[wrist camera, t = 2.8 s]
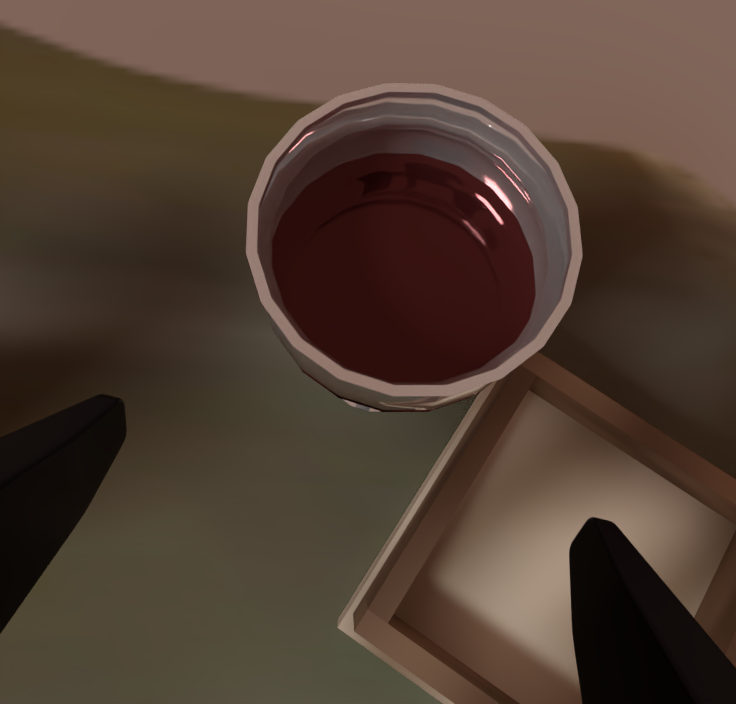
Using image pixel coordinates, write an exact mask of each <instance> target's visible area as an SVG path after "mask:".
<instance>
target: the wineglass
mask: <svg viewBox="0 0 736 704" xmlns="http://www.w3.org/2000/svg"><path fill="white" fill-rule="evenodd" d="M246 255H247V258H248V261H249V264H250V268H251V271H252V274H253V277H254V281H255V284H256V287H257V290H258V294H259V297H260V300H261V303H262V304H263V306H264V307H265V308H266V310H267V313H268V316H269V320H270V323H271V326H272V329H273V331H274V333H275V334H276V335H277V337H278V338H279V340H280V341H281V343H282V344H283V345H284V347H285V348H286V349H287V351H288V352H289V354H290V355H291V356H292V358H293V359H294V361H295V362H296V363H297V365H298V366H299V367H300V369H301V370H302V372H304V373H305V374H307V375H308V376H309V377H311V378H312V379H313V380H315V381H316V382H318V383H319V384H320V385H322V386H323V387H325V388H326V389H327V390H329V391H330V392H332V393H333V394H334V395H336V396H337V397H338V398H341V399H342V400H344V401H345V402H347V403H348V404H349V405H351V406H353V407H357V408H360V409H363V410H366V411H381V412H428V411H431V410H434V409H437V408H440V407H443V406H446V405H449V404H452V403H455V402H458V401H461V400H464V399H467V398H470V397H471V396H474V395H477V394H478V393H479V392H481V391H482V390H483V389H485V388H486V387H487V386H488V385H490V384H491V383H492V382H494V381H496V380H499V379H502V378H503V377H504V376H506V375H507V374H508V373H510V372H511V371H512V370H514V369H515V368H516V367H517V366H519V365H520V364H521V363H523V362H524V361H525V360H527V359H528V358H529V357H531V356H532V355H533V354H534V353H536V352H537V351H538V350H540V349H541V348H542V347H544V345H545V344H546V342H547V340H548V339H549V337H550V336H551V334H552V333H553V331H554V330H555V328H556V327H557V325H558V324H559V322H560V320H561V319H562V317H563V316H564V314H565V313H566V311H567V310H568V308H569V307H570V305H571V303H572V299H573V294H574V290H575V286H576V282H577V278H578V273H579V269H580V265H581V261H582V257H583V254H582V244H581V234H580V224H579V215H578V207H577V204H576V202H575V200H574V198H573V195H572V193H571V191H570V189H569V186H568V184H567V182H566V180H565V177H564V175H563V173H562V171H561V168H560V166H559V164H558V162H557V161H556V160H555V159H554V158H553V156H552V155H551V154H550V153H549V152H548V151H547V150H546V148H545V147H544V146H543V145H542V144H541V143H540V141H539V140H538V139H537V138H536V137H535V136H534V135H533V133H532V132H531V131H530V130H529V129H528V128H527V127H526V126H525V125H524V124H522V123H521V122H519V121H518V120H516V119H515V118H513V117H511V116H510V115H508V114H507V113H505V112H504V111H502V110H500V109H499V108H497V107H496V106H494V105H493V104H491V103H490V102H488V101H487V100H485V99H483V98H480V97H477V96H473V95H470V94H467V93H463V92H460V91H457V90H454V89H450V88H447V87H444V86H440V85H437V84H409V83H408V84H406V83H405V84H404V83H385V84H381V85H378V86H373V87H369V88H366V89H362V90H358V91H354V92H350V93H346V94H343V95H339V96H337V97H336V98H334V99H333V100H331V101H329V102H328V103H326V104H324V105H323V106H321V107H319V108H318V109H316V110H315V111H313V112H311V113H310V114H308V115H306V116H305V117H303V118H301V119H300V120H298V121H297V122H296V123H295V125H294V126H293V127H292V128H291V129H290V130H289V132H288V133H287V134H286V135H285V136H284V137H283V139H282V140H281V141H280V142H279V143H278V144H277V146H276V147H275V148H274V149H273V150H272V151H271V152H270V154H269V155H268V156H267V157H266V159H265V162H264V164H263V167H262V169H261V172H260V174H259V177H258V179H257V182H256V184H255V187H254V189H253V192H252V194H251V197H250V199H249V202H248V216H247V240H246Z"/></svg>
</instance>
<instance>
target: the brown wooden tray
mask: <svg viewBox="0 0 736 704" xmlns="http://www.w3.org/2000/svg"><path fill="white" fill-rule="evenodd" d="M591 517H596V518H600V519H604V520H608V521H611V522H613V523H615V524H616V525H617V526H618V528H619V529H620V530H621V531H622V532H623V534H624V535H625V536H626V537H627V538H628V540H629V541H630V542H631V543H632V544H633V546H634V547H635V548H636V549H637V550H638V551H639V553H640V554H641V555H642V556H643V557H644V559H645V560H646V561H647V562H648V563H649V565H650V566H651V567H652V568H653V569H654V571H655V572H656V573H657V574H658V575H659V577H660V578H661V579H662V580H663V581H664V583H665V584H666V585H667V586H668V587H669V589H670V590H671V591H672V592H673V593H674V594H675V596H676V597H677V598H678V599H679V600H680V602H681V603H682V604H683V605H684V606H685V608H686V609H687V610H688V611H689V612H690V614H691V615H692V616H693V617H694V618H695V620H696V621H697V622H698V623H699V624H700V626H701V627H702V628H703V629H704V630H705V631H706V633H707V634H708V635H709V636H710V637H711V639H712V640H713V641H714V642H715V643H716V645H717V646H718V647H719V648H720V649H721V651H722V652H723V653H724V654H725V655H726V657H727V658H728V659H729V660H730V661H731V663H732V664H733V665H734V666H735V667H736V479H734V478H733V477H731V476H730V475H728V474H727V473H725V472H724V471H722V470H720V469H719V468H717V467H716V466H714V465H713V464H711V463H710V462H708V461H707V460H705V459H703V458H702V457H700V456H699V455H697V454H696V453H694V452H693V451H691V450H690V449H688V448H686V447H685V446H683V445H682V444H680V443H679V442H677V441H676V440H674V439H673V438H671V437H669V436H668V435H666V434H665V433H663V432H662V431H660V430H659V429H657V428H655V427H654V426H652V425H651V424H649V423H648V422H646V421H645V420H643V419H642V418H640V417H638V416H637V415H635V414H634V413H632V412H631V411H629V410H628V409H626V408H625V407H623V406H621V405H620V404H618V403H617V402H615V401H614V400H612V399H611V398H609V397H608V396H606V395H604V394H603V393H601V392H600V391H598V390H597V389H595V388H594V387H592V386H590V385H589V384H587V383H586V382H584V381H583V380H581V379H580V378H578V377H577V376H575V375H573V374H572V373H570V372H569V371H567V370H566V369H564V368H563V367H561V366H560V365H558V364H556V363H555V362H553V361H552V360H550V359H549V358H547V357H546V356H544V355H543V354H541V353H539V352H538V351H537V352H536V353H534V354H533V355H532V356H531V357H529V358H528V359H527V360H525V361H524V362H523V363H521V364H520V365H519V366H517V367H516V368H515V369H514V370H512V371H511V372H510V373H508V374H507V375H506V376H504V377H503V378H502V379H499V380H496V381H494V382H492V383H491V384H490V385H488V386H487V387H486V388H485V389H483V390H482V391H481V392H479V394H478V396H477V397H476V399H475V401H474V402H473V404H472V405H471V407H470V409H469V410H468V412H467V413H466V415H465V417H464V418H463V420H462V421H461V423H460V425H459V426H458V428H457V429H456V431H455V433H454V434H453V436H452V437H451V439H450V441H449V442H448V444H447V445H446V447H445V449H444V450H443V452H442V453H441V455H440V457H439V458H438V460H437V461H436V463H435V465H434V466H433V468H432V469H431V471H430V473H429V474H428V476H427V477H426V479H425V481H424V482H423V484H422V485H421V487H420V489H419V490H418V492H417V493H416V495H415V497H414V498H413V500H412V501H411V503H410V505H409V506H408V508H407V509H406V511H405V513H404V514H403V516H402V517H401V519H400V521H399V522H398V524H397V525H396V527H395V529H394V530H393V532H392V533H391V535H390V537H389V538H388V540H387V541H386V543H385V545H384V546H383V548H382V549H381V551H380V553H379V554H378V556H377V557H376V559H375V561H374V562H373V564H372V565H371V567H370V569H369V570H368V572H367V573H366V575H365V577H364V578H363V580H362V581H361V583H360V585H359V586H358V588H357V589H356V591H355V593H354V594H353V596H352V597H351V599H350V601H349V602H348V604H347V606H346V607H345V609H344V610H343V612H342V614H341V615H340V617H339V618H338V628H339V629H340V630H342V631H343V632H344V633H346V634H347V635H349V636H350V637H351V638H353V639H354V640H355V641H357V642H358V643H360V644H361V645H362V646H364V647H365V648H367V649H368V650H369V651H371V652H372V653H374V654H375V655H376V656H378V657H379V658H380V659H382V660H383V661H385V662H386V663H387V664H389V665H390V666H392V667H393V668H394V669H396V670H397V671H398V672H400V673H401V674H403V675H404V676H405V677H407V678H408V679H410V680H411V681H412V682H414V683H415V684H417V685H418V686H419V687H421V688H422V689H423V690H425V691H426V692H428V693H429V694H430V695H432V696H433V697H435V698H436V699H437V700H439V701H440V702H441V703H443V704H582V698H581V691H580V685H579V678H578V671H577V664H576V658H575V651H574V643H573V635H572V620H571V594H570V568H569V549H570V546H571V543H572V541H573V540H574V538H575V537H576V535H577V534H578V532H579V531H580V529H581V528H582V527H583V525H584V524H585V522H586V521H587V520H588V519H589V518H591Z"/></svg>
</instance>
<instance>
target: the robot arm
mask: <svg viewBox="0 0 736 704" xmlns="http://www.w3.org/2000/svg"><path fill="white" fill-rule="evenodd" d="M125 437H126V417H125V405H124V402H123V400H122V399H120V398H117V397H113V396H109V395H105V394H100V395H96V396H94V397H92V398H89V399H87V400H85V401H83V402H80V403H78V404H76V405H73V406H71V407H69V408H67V409H64V410H62V411H60V412H58V413H55V414H53V415H51V416H48V417H46V418H44V419H42V420H39V421H37V422H35V423H32V424H30V425H28V426H26V427H23V428H21V429H19V430H17V431H14V432H12V433H10V434H7V435H5V436H3V437H1V438H0V634H1V632H2V631H3V629H4V628H5V626H6V625H7V624H8V622H9V621H10V619H11V618H12V616H13V615H14V614H15V612H16V611H17V609H18V608H19V606H20V605H21V604H22V602H23V601H24V599H25V598H26V596H27V595H28V594H29V592H30V591H31V589H32V588H33V586H34V585H35V584H36V582H37V581H38V579H39V578H40V576H41V575H42V574H43V572H44V571H45V569H46V568H47V566H48V565H49V564H50V562H51V561H52V559H53V558H54V556H55V555H56V554H57V552H58V551H59V549H60V548H61V546H62V545H63V543H64V542H65V541H66V539H67V538H68V536H69V535H70V533H71V532H72V531H73V529H74V528H75V526H76V525H77V523H78V522H79V520H80V519H81V517H82V516H83V514H84V513H85V511H86V510H87V508H88V506H89V504H90V503H91V501H92V499H93V497H94V496H95V494H96V492H97V490H98V488H99V486H100V485H101V483H102V481H103V479H104V477H105V475H106V474H107V472H108V470H109V468H110V466H111V464H112V463H113V461H114V459H115V457H116V455H117V454H118V452H119V450H120V448H121V446H122V444H123V442H124V440H125ZM569 568H570V594H571V620H572V635H573V643H574V651H575V658H576V664H577V671H578V678H579V685H580V691H581V698H582V704H736V667H735V666H734V665H733V664H732V663H731V661H730V660H729V659H728V658H727V657H726V655H725V654H724V653H723V652H722V651H721V649H720V648H719V647H718V646H717V645H716V643H715V642H714V641H713V640H712V639H711V637H710V636H709V635H708V634H707V633H706V631H705V630H704V629H703V628H702V627H701V626H700V624H699V623H698V622H697V621H696V620H695V618H694V617H693V616H692V615H691V614H690V612H689V611H688V610H687V609H686V608H685V606H684V605H683V604H682V603H681V602H680V600H679V599H678V598H677V597H676V596H675V594H674V593H673V592H672V591H671V590H670V589H669V587H668V586H667V585H666V584H665V583H664V581H663V580H662V579H661V578H660V577H659V575H658V574H657V573H656V572H655V571H654V569H653V568H652V567H651V566H650V565H649V563H648V562H647V561H646V560H645V559H644V557H643V556H642V555H641V554H640V553H639V551H638V550H637V549H636V548H635V547H634V546H633V544H632V543H631V542H630V541H629V540H628V538H627V537H626V536H625V535H624V534H623V532H622V531H621V530H620V529H619V528H618V526H617V525H616V524H615V523H613V522H611V521H608V520H604V519H600V518H596V517H591V518H589V519H588V520H587V521H586V522H585V524H584V525H583V527H582V528H581V529H580V531H579V532H578V534H577V535H576V537H575V538H574V540H573V541H572V543H571V546H570V549H569Z"/></svg>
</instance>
